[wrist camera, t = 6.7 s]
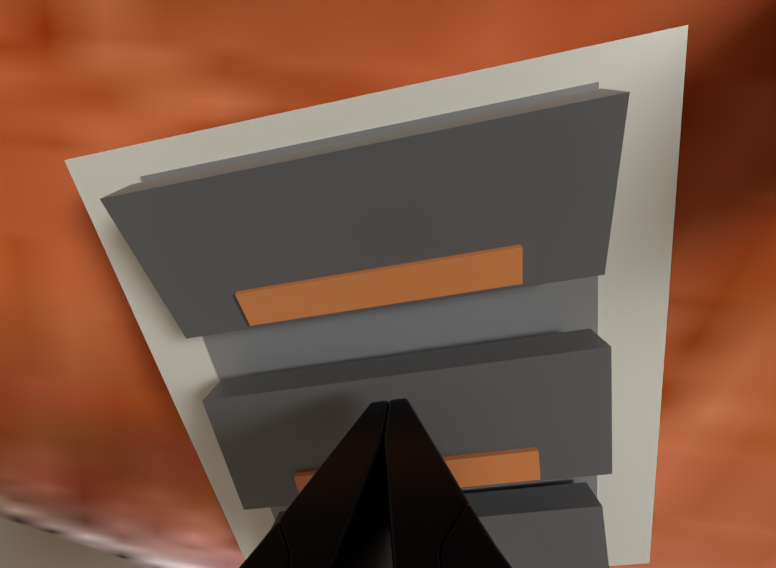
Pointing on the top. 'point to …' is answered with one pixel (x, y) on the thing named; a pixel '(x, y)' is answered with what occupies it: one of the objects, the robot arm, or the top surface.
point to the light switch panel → (454, 315)
